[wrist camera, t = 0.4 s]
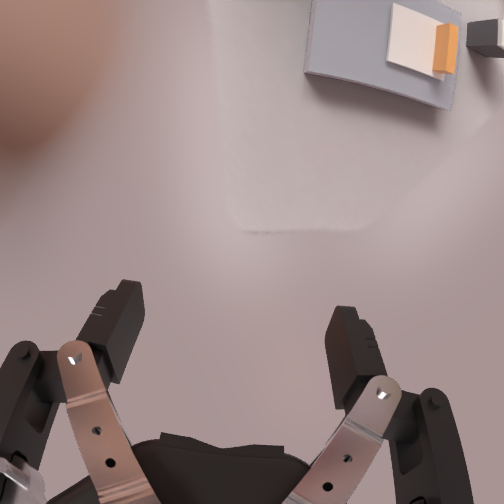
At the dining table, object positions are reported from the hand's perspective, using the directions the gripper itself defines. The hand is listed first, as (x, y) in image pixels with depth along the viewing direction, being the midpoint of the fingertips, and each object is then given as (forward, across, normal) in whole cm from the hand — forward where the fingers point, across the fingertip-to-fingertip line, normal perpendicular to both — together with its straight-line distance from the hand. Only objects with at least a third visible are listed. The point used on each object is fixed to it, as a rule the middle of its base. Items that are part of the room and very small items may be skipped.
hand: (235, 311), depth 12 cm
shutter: (+24, -16, -18) cm, 34 cm away
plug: (+28, -28, -24) cm, 47 cm away
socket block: (+28, -13, -18) cm, 36 cm away
